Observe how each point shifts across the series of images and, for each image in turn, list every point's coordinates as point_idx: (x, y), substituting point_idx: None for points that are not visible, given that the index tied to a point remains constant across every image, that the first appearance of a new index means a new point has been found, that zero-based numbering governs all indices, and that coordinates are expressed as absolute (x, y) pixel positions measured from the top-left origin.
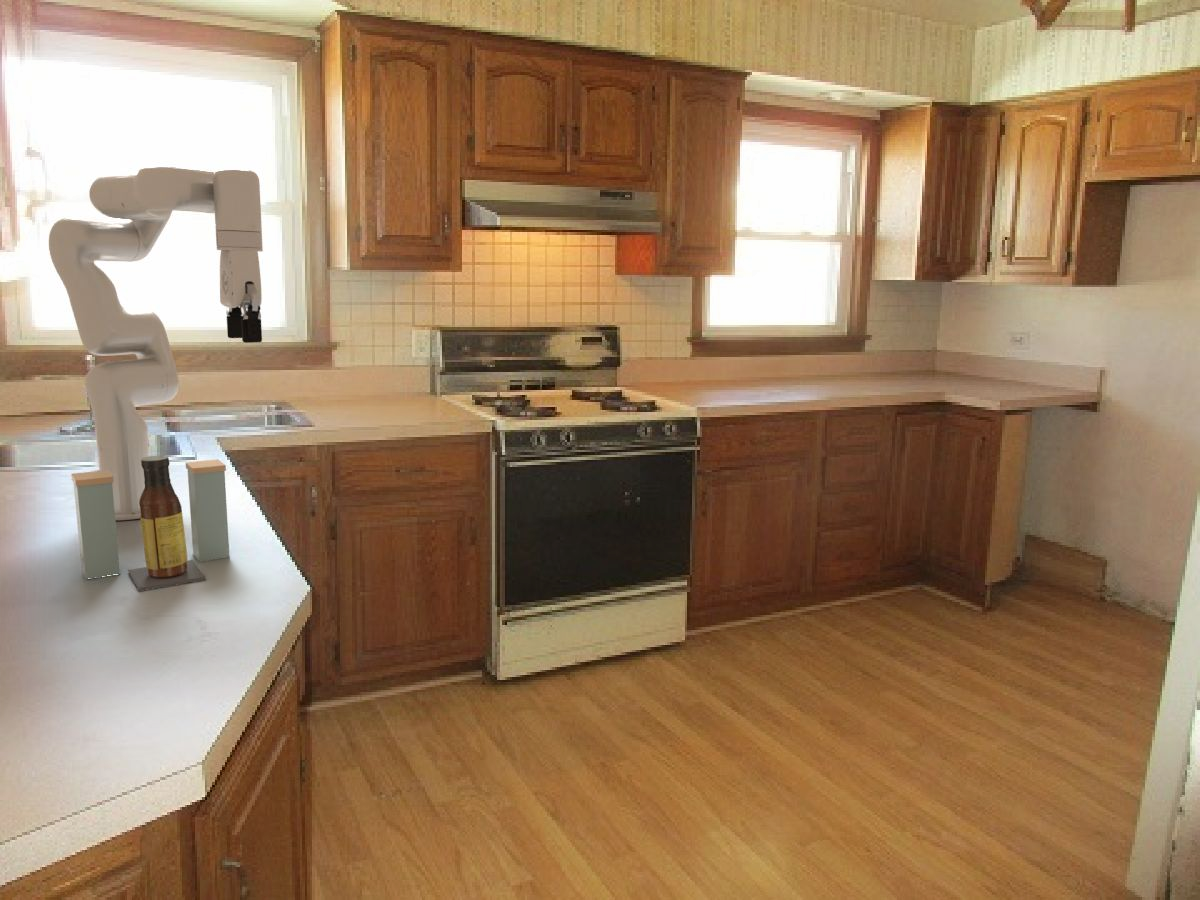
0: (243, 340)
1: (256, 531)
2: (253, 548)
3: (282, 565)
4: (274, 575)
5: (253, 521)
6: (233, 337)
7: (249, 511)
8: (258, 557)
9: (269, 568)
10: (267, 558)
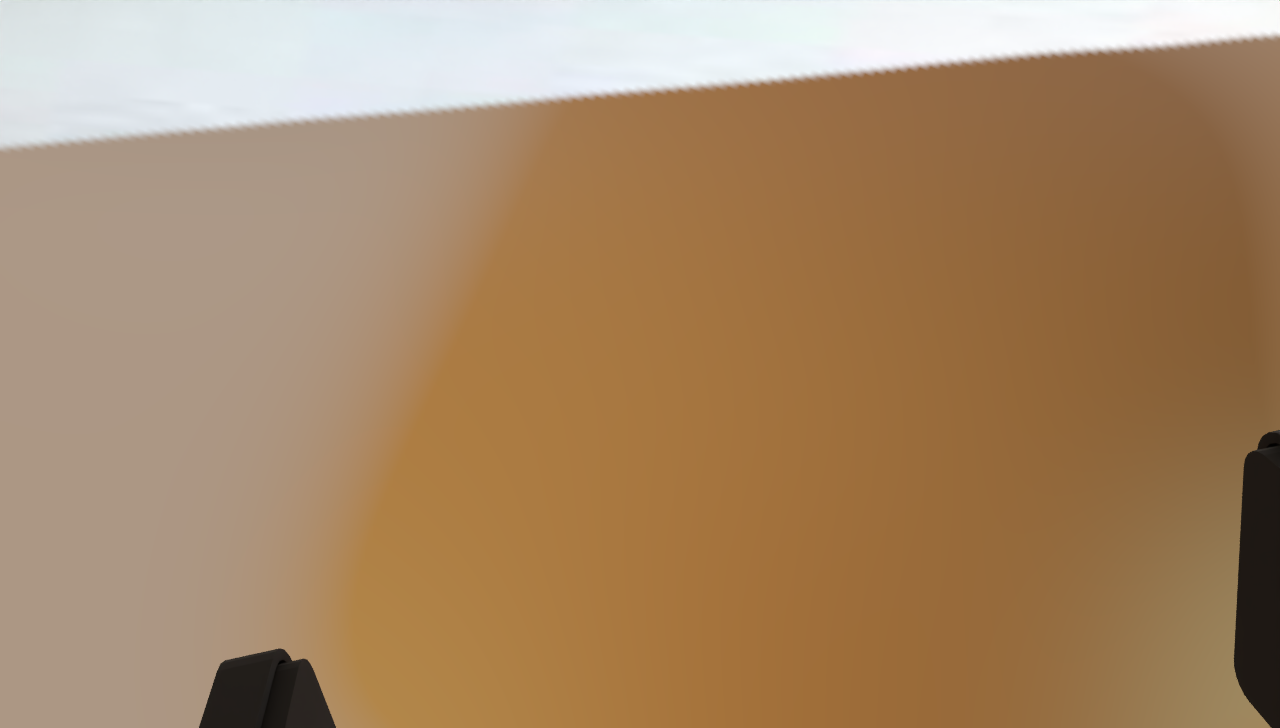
0: (225, 675)
1: (775, 43)
2: (499, 8)
3: (203, 113)
4: (65, 68)
5: (953, 41)
6: (1245, 502)
7: (1141, 35)
8: (350, 20)
9: (172, 55)
10: (324, 59)
